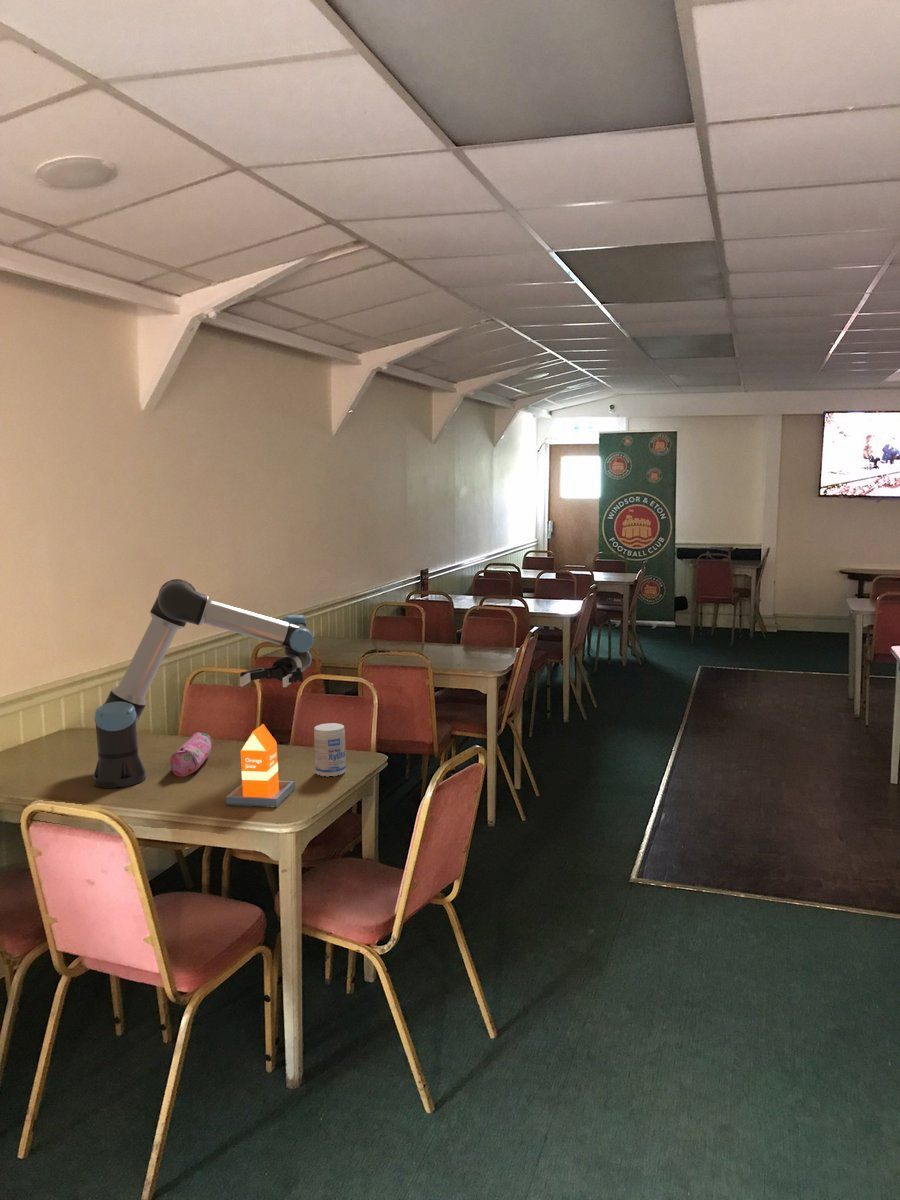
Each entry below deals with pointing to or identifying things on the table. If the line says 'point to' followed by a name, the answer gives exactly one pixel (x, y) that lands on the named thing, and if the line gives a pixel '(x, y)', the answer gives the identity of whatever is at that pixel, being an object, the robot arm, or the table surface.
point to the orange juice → (260, 764)
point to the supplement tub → (329, 749)
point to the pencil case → (191, 754)
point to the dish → (240, 800)
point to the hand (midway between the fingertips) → (262, 682)
